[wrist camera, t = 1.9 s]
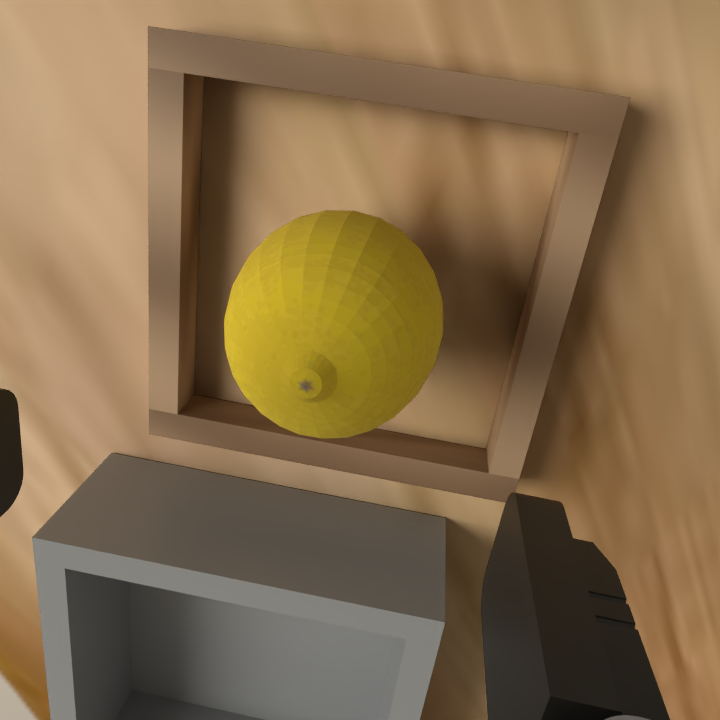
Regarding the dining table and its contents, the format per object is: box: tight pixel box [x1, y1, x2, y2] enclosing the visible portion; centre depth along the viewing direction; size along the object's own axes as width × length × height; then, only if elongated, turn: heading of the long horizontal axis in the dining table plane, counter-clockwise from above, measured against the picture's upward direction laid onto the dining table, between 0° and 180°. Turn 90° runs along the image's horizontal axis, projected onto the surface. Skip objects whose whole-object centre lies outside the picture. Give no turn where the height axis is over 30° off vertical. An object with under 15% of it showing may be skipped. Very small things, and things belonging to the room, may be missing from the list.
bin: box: [32, 453, 446, 720], centre depth 24 cm, size 13×13×5 cm
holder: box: [148, 26, 630, 503], centre depth 19 cm, size 13×13×2 cm
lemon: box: [224, 211, 443, 439], centre depth 16 cm, size 6×6×8 cm
